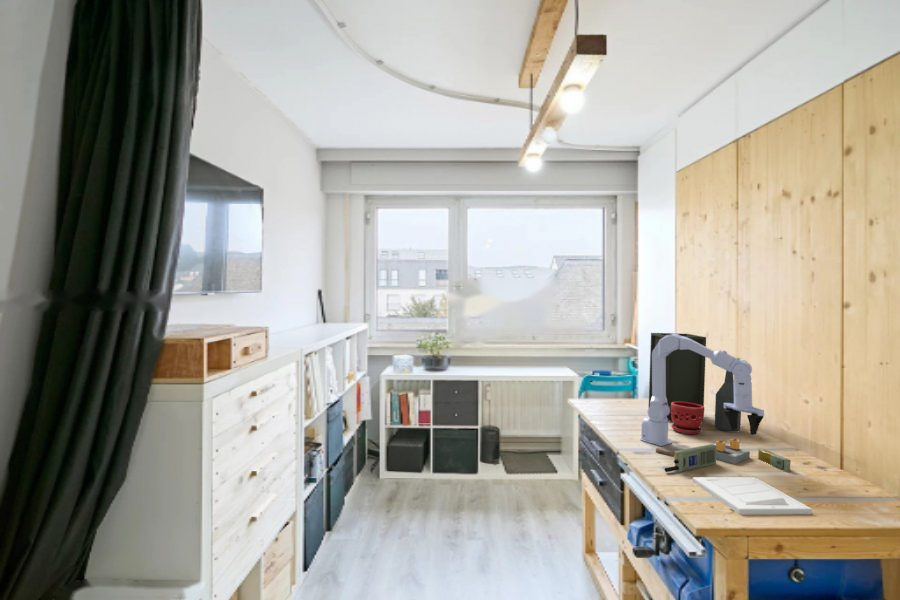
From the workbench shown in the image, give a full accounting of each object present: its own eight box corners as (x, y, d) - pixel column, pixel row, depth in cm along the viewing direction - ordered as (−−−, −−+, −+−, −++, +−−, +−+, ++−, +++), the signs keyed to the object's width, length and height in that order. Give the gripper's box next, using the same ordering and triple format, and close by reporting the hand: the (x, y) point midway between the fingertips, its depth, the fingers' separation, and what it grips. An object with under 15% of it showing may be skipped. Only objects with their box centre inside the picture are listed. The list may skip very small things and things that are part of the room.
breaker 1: (715, 449, 178) (715, 440, 178) (718, 448, 179) (719, 439, 179) (722, 451, 176) (722, 442, 176) (725, 450, 177) (725, 441, 177)
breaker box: (700, 454, 181) (700, 447, 181) (715, 448, 188) (716, 442, 188) (734, 464, 171) (734, 456, 171) (749, 458, 178) (749, 450, 178)
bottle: (731, 426, 222) (734, 360, 221) (745, 432, 212) (748, 364, 212) (709, 425, 222) (712, 360, 221) (722, 432, 212) (725, 363, 211)
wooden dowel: (657, 450, 184) (656, 453, 183) (657, 446, 183) (655, 450, 182) (685, 456, 177) (684, 460, 176) (685, 453, 176) (683, 457, 175)
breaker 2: (729, 447, 180) (730, 438, 180) (732, 446, 182) (733, 437, 182) (736, 449, 179) (736, 440, 178) (739, 448, 180) (739, 439, 180)
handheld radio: (718, 464, 171) (670, 475, 159) (709, 462, 174) (661, 472, 162) (718, 445, 171) (670, 455, 159) (709, 443, 174) (661, 452, 162)
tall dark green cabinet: (703, 421, 228) (706, 337, 228) (663, 420, 229) (666, 336, 228) (684, 412, 247) (687, 333, 246) (648, 411, 247) (651, 332, 246)
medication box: (790, 471, 166) (791, 460, 166) (783, 471, 166) (784, 460, 166) (764, 459, 178) (764, 448, 178) (757, 459, 178) (757, 448, 178)
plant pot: (705, 437, 203) (706, 409, 203) (670, 433, 208) (671, 405, 208) (701, 429, 215) (702, 402, 215) (669, 425, 220) (670, 399, 220)
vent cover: (812, 503, 133) (740, 503, 132) (812, 515, 133) (739, 516, 132) (755, 472, 156) (692, 472, 154) (754, 482, 156) (692, 482, 154)
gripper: (769, 396, 171) (770, 435, 171) (732, 390, 185) (733, 426, 185) (755, 398, 169) (756, 437, 169) (719, 391, 183) (720, 428, 182)
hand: (743, 431), depth 177 cm, fingers open, 7 cm apart
